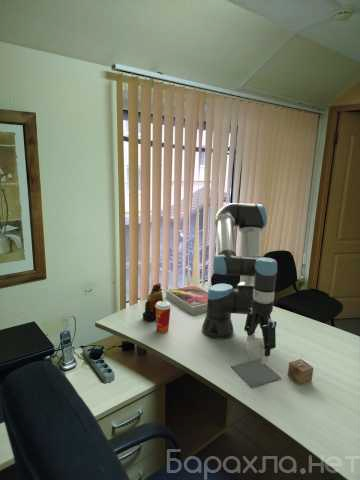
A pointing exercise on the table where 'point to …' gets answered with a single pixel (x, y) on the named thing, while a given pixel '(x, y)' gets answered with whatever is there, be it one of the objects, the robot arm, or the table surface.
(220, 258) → the robot arm
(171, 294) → the product packaging
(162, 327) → the paper cup
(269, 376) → the grey mat
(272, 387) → the table surface
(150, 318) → the statue
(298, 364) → the letter block
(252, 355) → the die
